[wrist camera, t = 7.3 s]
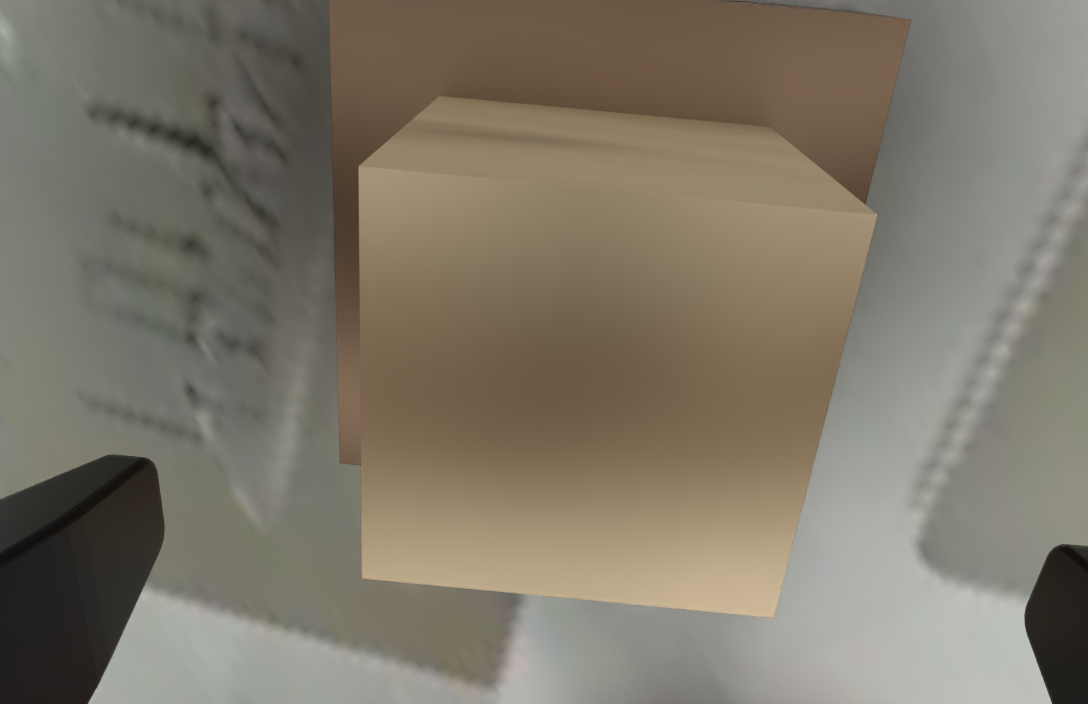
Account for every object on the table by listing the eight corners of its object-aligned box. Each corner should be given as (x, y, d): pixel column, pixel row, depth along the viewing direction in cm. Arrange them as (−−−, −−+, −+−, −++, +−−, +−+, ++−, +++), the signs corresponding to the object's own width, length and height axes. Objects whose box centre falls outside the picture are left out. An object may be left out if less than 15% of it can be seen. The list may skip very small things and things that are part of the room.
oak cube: (714, 416, 18) (773, 617, 12) (430, 389, 18) (362, 578, 12) (770, 127, 15) (877, 215, 10) (439, 95, 15) (358, 166, 10)
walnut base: (763, 436, 21) (790, 505, 18) (371, 400, 21) (339, 463, 18) (858, 11, 17) (911, 19, 14) (368, -33, 17) (327, -34, 14)
